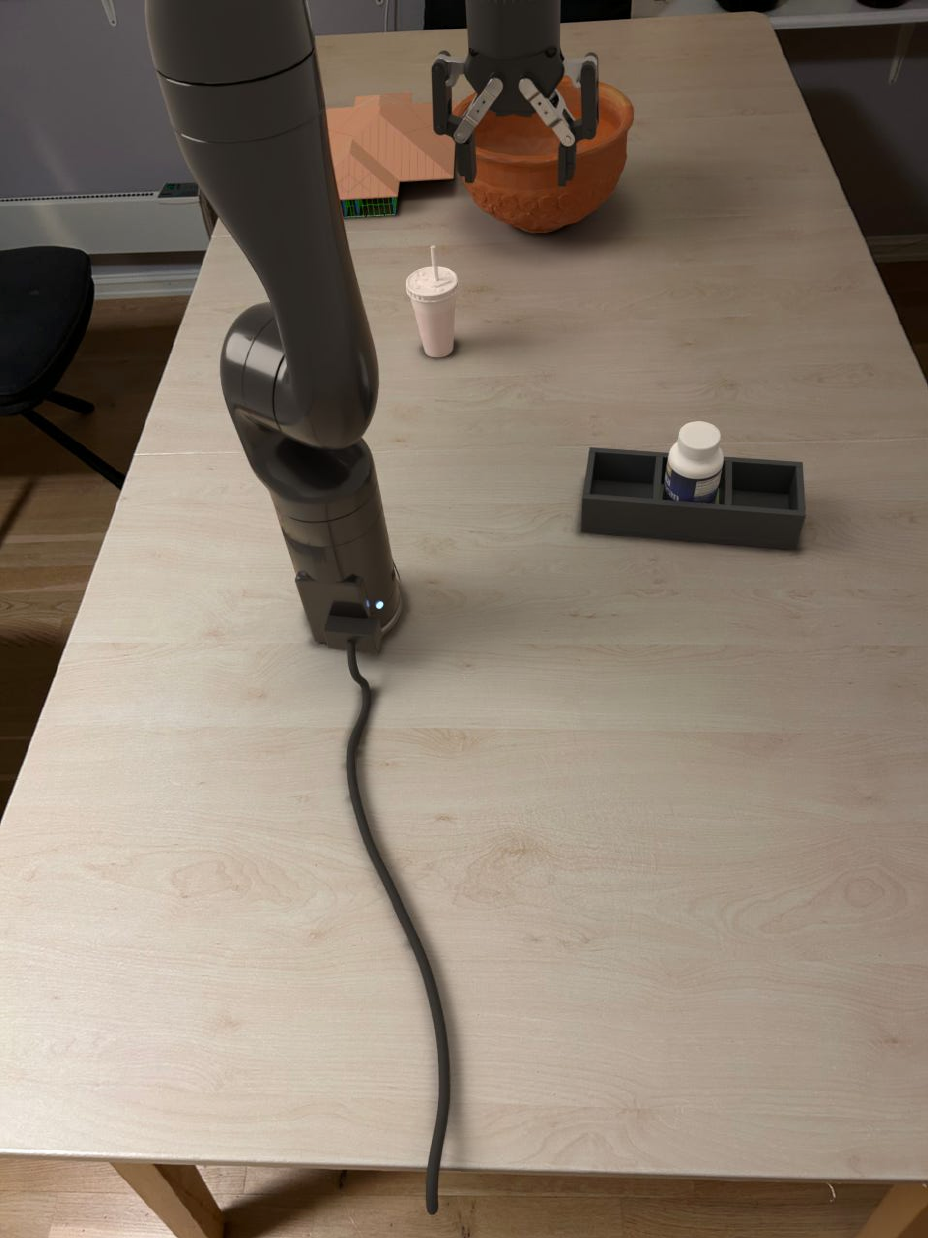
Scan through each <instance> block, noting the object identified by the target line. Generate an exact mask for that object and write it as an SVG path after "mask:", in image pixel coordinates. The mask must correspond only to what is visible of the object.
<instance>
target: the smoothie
mask: <svg viewBox="0 0 928 1238" xmlns="http://www.w3.org/2000/svg"><path fill="white" fill-rule="evenodd" d="M430 255H431V265H432V266H426V267H425V266H424V267H422V268H419V269H416V270H414V271H413V272H411V273H410V274H409V276H407V278H406V280H405V292H406V294H407V295H408V297H409V298H410V301H411V304H412V308H413V312H414V316H415V320H416V323H417V327H418V331H419V334H420V335H419V336H420V338H421V342H422V346H423V351H424V352H425V354H426V355H427V356H429V357H432V358H443V357H447V356H449V355H450V354H451V353H453V351H454V342H455V341H454V340H455V324H456V323H455V322H456V302H457V292H458V290H459V287H460V284H459V276H458V275H457V273H456V272H455V271H453V270H452V269H450V268H448V267H444V266H439V265H438V260H437V259H438V258H437V249H436V245H430Z"/></svg>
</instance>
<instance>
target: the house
mask: <svg viewBox="0 0 928 1238" xmlns="http://www.w3.org/2000/svg"><path fill="white" fill-rule="evenodd" d="M412 98H413V92H402V93H383V94H382V93H381V94H369V95H368V94H367V95H356V96H355V98H354V103H353V106H349V107H347V106H346V107H331V108H326V114H327V122H328V130H329V138H330V145H331V152H332V158H333V164H334V170H335V176H336V181H337V186H338V191H339V196H340V201H342V202H341V203H342V205H341V207H342V209H343V214H344V216H343V218H348V211H349V210H350V211H349V212H352V210H353V212H355V210H356V214H355V213H353V215H352V213H350V216H349V218H360V217H362V218H363V217H364V215H365V212H364V210H362V211H363V214H362V215H360V211H361V208H362V209H364V207H366V206H367V207H369V206H372V209H373V211H375V208H374V206H377V207H378V208H380V205H381V203H376V204H374V201H373V200H374V199H377V201H379V199H387V200H388V206H389V208H388V209H389V210H391V206H390V205H392V208H393V209H392V210H393V213H391V212H389V213H390V214H389V213H388V214H386V216H395V215H396V211H397V206H398V205H397V204H398V198H399V189H400V183H405V182H422V181H424V182H425V181H439V180H440V181H441V180H443V181H444V180H454V173H455V158H456V156H455V155H456V143H455V142H454V141H453V140H452V138H451V137H450V136H447V135H445V134H444V135H437V134H436V133H435V132H434V129H433V102H432V101H431V102H430V101H429V102H413V103H412V101H413V100H412ZM458 102H459V101H458V100H452V112H453V110H454V108H455V107H456V106H457V105H458V104H459V103H458ZM389 198H391V200H392V201H391V202H390V199H389ZM368 199H369V200H370V199H371V203H372V204H371V203H368V202H366V204H362V203H363V200H368ZM353 200H354V203H353ZM350 201H351V203H350ZM382 202H383V203H382V205H383V206H385V205H387V203H385V200H382ZM354 206H355V208H354ZM351 207H352V208H351ZM383 210H384V212H386V211H385V210H386V209H385V207H383ZM367 211H368V213H370V209H369V208H367ZM380 211H381V210H378V214H375V212H373V214H368V217H378V216H379V217H380V216H383V214H381V212H380Z"/></svg>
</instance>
